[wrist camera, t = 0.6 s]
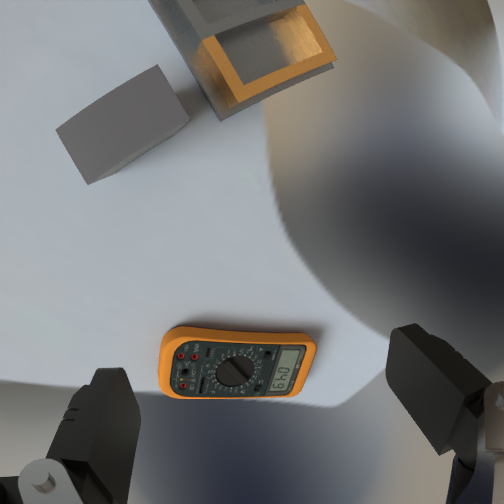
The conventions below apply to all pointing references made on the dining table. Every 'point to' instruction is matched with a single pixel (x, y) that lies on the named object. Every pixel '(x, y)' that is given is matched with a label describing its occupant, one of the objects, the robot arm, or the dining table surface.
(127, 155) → the grey rectangular block
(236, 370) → the multimeter
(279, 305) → the dining table surface
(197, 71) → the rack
